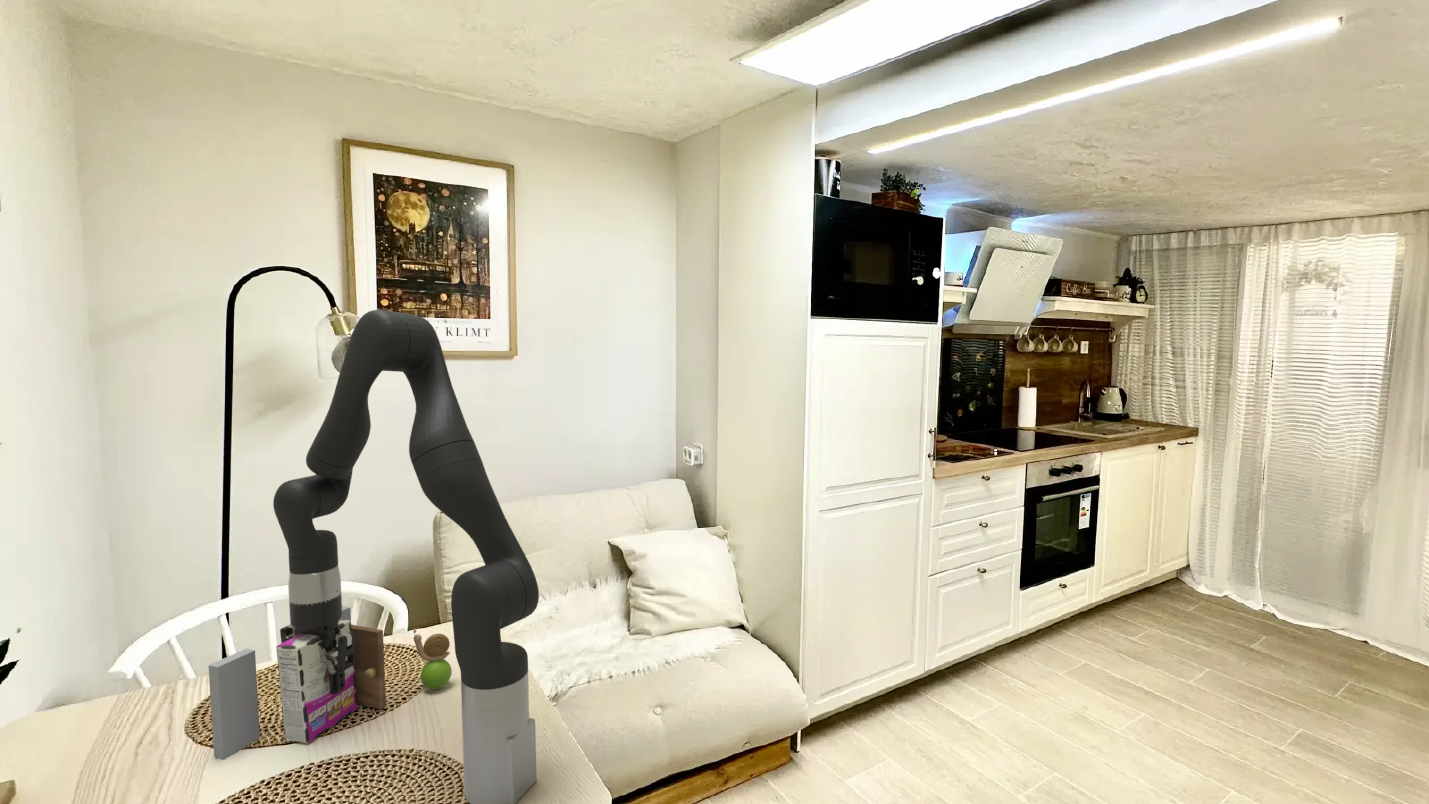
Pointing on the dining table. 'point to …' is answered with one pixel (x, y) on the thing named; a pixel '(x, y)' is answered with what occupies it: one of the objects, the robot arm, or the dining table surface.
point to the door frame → (237, 700)
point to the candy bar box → (311, 688)
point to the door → (369, 666)
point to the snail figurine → (434, 660)
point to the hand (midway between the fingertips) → (320, 688)
